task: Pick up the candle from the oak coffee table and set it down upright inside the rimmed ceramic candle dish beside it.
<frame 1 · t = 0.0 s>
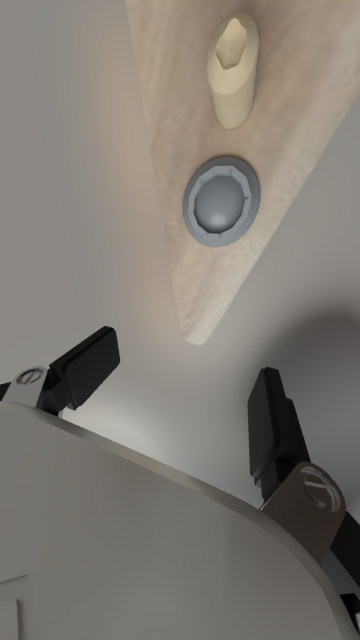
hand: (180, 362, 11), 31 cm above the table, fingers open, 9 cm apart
candle dish: (218, 206, 32), on the table
candle: (234, 105, 26), on the table
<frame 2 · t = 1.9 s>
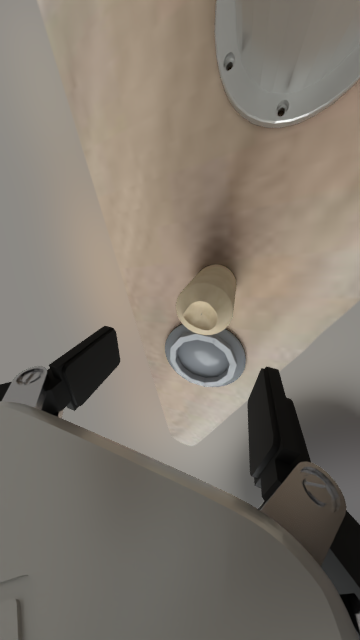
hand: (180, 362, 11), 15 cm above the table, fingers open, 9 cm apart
candle dish: (203, 355, 30), on the table
candle: (215, 284, 23), on the table
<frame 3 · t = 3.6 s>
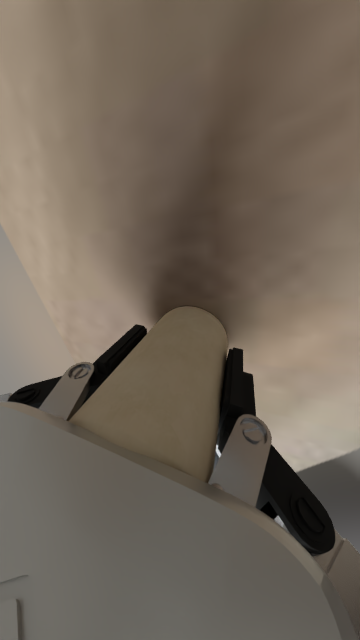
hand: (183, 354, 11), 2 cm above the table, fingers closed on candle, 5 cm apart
candle: (192, 336, 13), on the table, touching gripper
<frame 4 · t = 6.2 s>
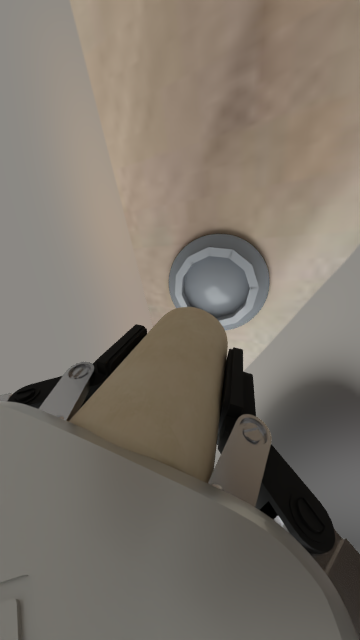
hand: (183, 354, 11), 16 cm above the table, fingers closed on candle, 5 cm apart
candle dish: (214, 287, 24), on the table
candle: (191, 337, 13), point 14 cm above the table, touching gripper
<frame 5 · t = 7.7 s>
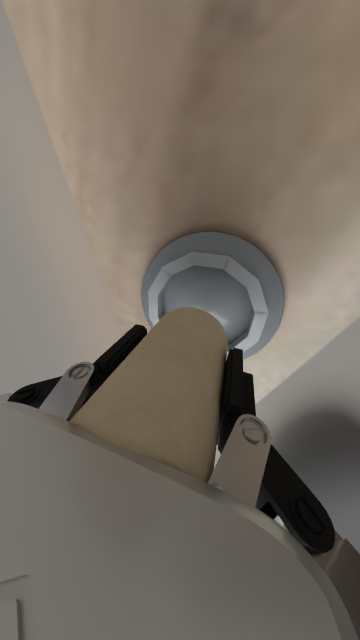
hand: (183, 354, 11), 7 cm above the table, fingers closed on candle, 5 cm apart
candle dish: (204, 307, 17), on the table
candle: (191, 337, 13), point 5 cm above the table, touching gripper
when the fingers open (4 cm above the table, at t = 8.8 s): candle drops 2 cm, resting on candle dish.
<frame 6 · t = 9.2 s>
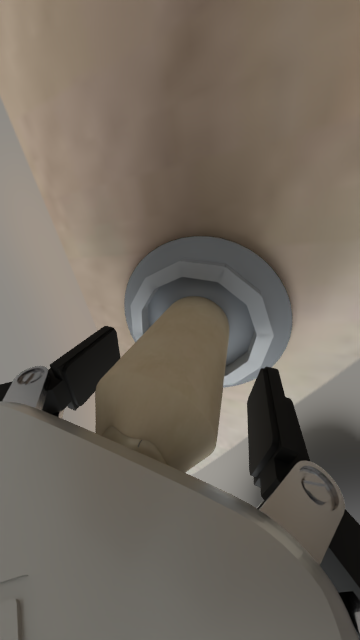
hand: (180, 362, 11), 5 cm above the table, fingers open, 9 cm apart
candle dish: (197, 324, 15), on the table
candle: (196, 324, 14), resting on candle dish
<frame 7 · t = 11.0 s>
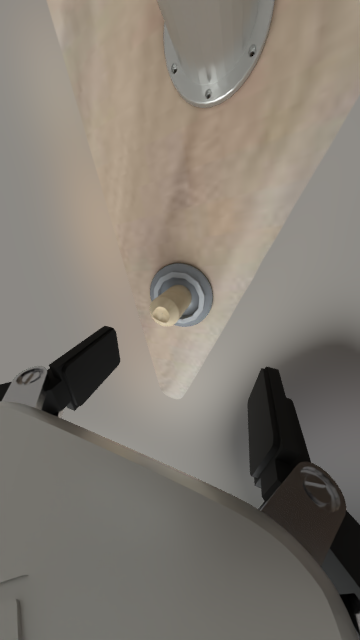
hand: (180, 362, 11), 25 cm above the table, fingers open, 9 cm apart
candle dish: (180, 296, 37), on the table
candle: (179, 296, 36), resting on candle dish
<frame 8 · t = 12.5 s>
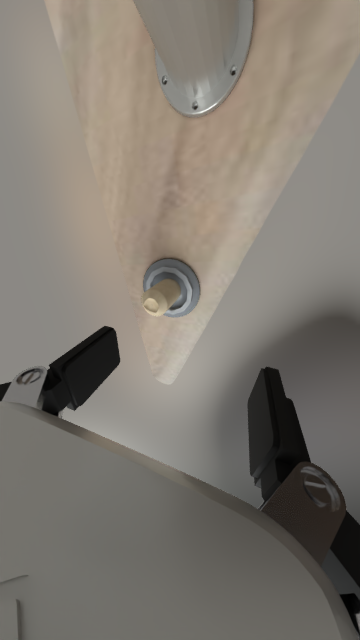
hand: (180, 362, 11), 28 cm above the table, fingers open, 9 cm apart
candle dish: (170, 289, 40), on the table
candle: (170, 289, 39), resting on candle dish
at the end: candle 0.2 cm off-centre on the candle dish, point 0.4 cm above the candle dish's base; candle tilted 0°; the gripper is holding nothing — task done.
